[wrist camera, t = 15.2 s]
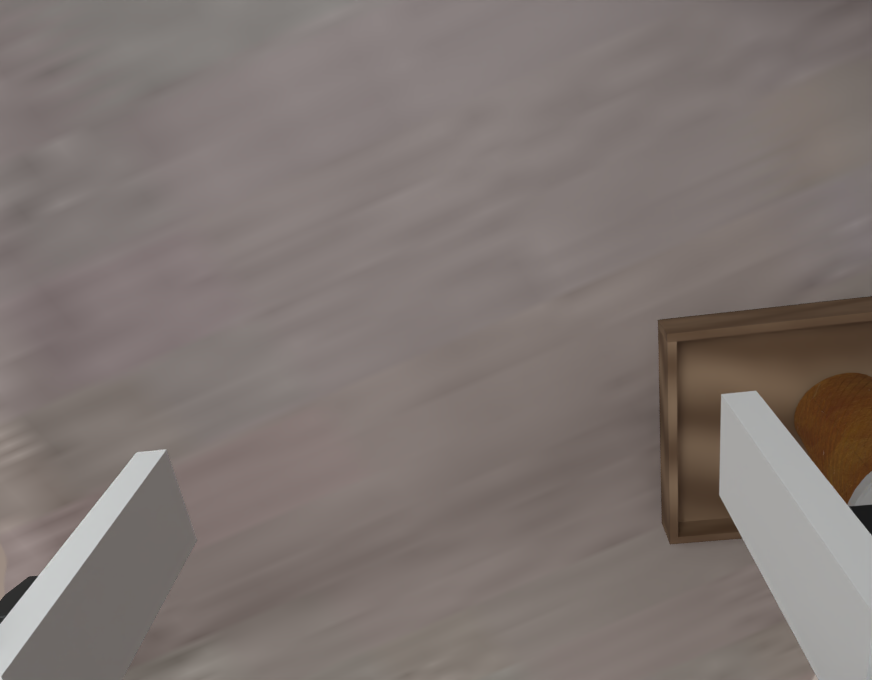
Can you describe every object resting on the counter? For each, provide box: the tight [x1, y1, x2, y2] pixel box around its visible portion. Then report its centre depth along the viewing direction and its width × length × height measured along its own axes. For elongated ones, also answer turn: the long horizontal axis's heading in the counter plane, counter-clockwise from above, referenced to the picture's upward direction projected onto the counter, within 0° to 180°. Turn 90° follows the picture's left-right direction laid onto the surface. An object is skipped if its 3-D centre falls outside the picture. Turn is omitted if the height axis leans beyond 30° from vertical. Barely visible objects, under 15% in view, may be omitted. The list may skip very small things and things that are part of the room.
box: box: [658, 296, 872, 544], centre depth 50 cm, size 17×17×2 cm
